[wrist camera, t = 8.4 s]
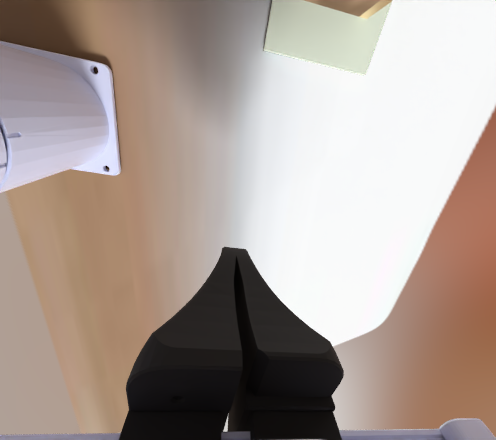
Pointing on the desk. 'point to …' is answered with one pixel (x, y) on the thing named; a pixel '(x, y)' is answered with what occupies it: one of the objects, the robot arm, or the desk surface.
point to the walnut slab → (354, 6)
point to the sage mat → (323, 35)
